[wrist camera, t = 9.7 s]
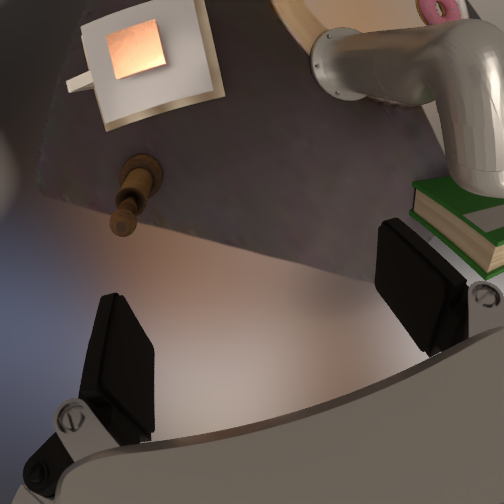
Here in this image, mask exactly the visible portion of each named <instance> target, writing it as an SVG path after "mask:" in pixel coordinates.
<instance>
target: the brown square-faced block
mask: <svg viewBox="0 0 504 504" xmlns="http://www.w3.org/2000/svg"><path fill="white" fill-rule="evenodd" d="M106 39H107V43H108V48H109V52H110V56H111V60H112V64H113V69H114V73H115V76H116V80H117V79H127V78H130V77H133V76H136V75H139V74H142V73H145V72H148V71H151V70H155V69H158V68H161V67H165V66H168V62H167V58H166V54H165V50H164V45H163V41H162V37H161V32H160V28H159V25H158V23H157V21H156V20H155V19H154V20H150V21H147V22H144V23H140V24H137V25H134V26H131V27H128V28H125V29H123V30H120V31H117V32H114V33H112V34H109V35H106Z"/></svg>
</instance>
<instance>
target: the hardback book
mask: <svg viewBox="0 0 504 504" xmlns="http://www.w3.org/2000/svg"><path fill="white" fill-rule="evenodd" d="M412 186H413V187H414V188H416V195H415V204H414V210H409V215H411V216H412V217H413V218H414V219H416V220H417V221H418V222H419V223H421V224H422V225H423V226H424V227H426V228H427V229H428V230H429V231H430V232H432V233H433V234H434V235H435V236H437V237H438V238H439V239H440V240H441V241H442V242H443V243H445V244H446V245H447V246H448V247H449V248H450V249H452V250H453V251H454V252H455V253H456V254H458V256H459V257H461V258H462V259H463V260H464V261H465V262H466V263H467V264H468V265H469V266H471V268H473V269H474V270H475V271H476V272H477V273H478V274H479V275H480V276H481V277H482V278H483V279H484V280H485V281H486V280H488V279H490V278H492V277H494V276H496V275H498V274H500V273H502V272H504V198H494V197H486V196H481V195H477V194H474V193H471V192H469V191H466V190H465V189H463V188H461V187H460V186H459V185H458V184H457V183H456V182H455V181H454V180H453V178H452V177H451V176H449V177H442V178H435V179H428V180H421V181H415V182H412Z"/></svg>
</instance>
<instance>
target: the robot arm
mask: <svg viewBox="0 0 504 504" xmlns="http://www.w3.org/2000/svg"><path fill="white" fill-rule="evenodd" d="M326 35H327V36H328V38H327V37H326ZM315 64H316V65H317V67H315ZM310 65H311V70H312V73H313V76H314V78H315V80H316V82H317V83H318V84H319V86H320V87H321V88H322V89H323V90H324V91H325V92H326V93H328V94H329V95H331V96H333V97H335V98H338V99H341V100H348V101H353V100H359V99H362V98H364V97H366V96H368V95H369V96H374V97H379V98H384V99H388V100H392V101H397V102H401V103H406V104H410V105H424V104H427V103H430V102H432V101H434V100H435V101H436V105H437V110H438V113H439V117H440V122H441V128H442V134H443V141H444V148H445V155H446V161H447V166H448V170H449V172H450V175H451V177H452V178H453V180H454V181H455V182H456V183H457V184H458V185H459V186H460V187H461V188H463V189H465V190H466V191H469V192H471V193H474V194H477V195H481V196H486V197H494V198H504V33H503V32H502V31H501V30H500V29H499V28H498V27H496V26H495V25H493V24H491V23H489V22H487V21H483V20H479V19H458V20H452V21H448V22H443V23H439V24H435V25H430V26H424V27H417V28H407V29H396V30H387V31H377V32H368V33H361V32H359V31H357V30H354V29H351V28H344V27H342V28H335V29H331V30H329V31H326V32H324V33H323V34H322V35H320V36H319V38H318V39H317V40H316V41H315V43H314V45H313V47H312V50H311V54H310ZM335 92H337V93H336V94H335ZM466 282H467V280H466V279H465V278H464V277H463V276H462V275H461V274H460V273H459V272H458V271H457V270H456V269H455V268H454V267H453V266H452V265H451V264H450V263H449V262H448V261H447V260H446V259H444V258H443V257H442V256H441V255H440V254H439V253H438V252H437V251H436V250H435V249H434V248H432V247H431V246H430V245H429V244H428V243H427V242H426V241H425V240H423V239H422V238H421V237H420V236H419V235H418V234H417V233H415V232H414V231H413V230H412V229H411V228H410V227H408V226H407V225H406V224H405V223H404V222H402V221H401V220H400V219H399V218H392V219H389V220H385V221H383V222H382V224H381V226H379V228H378V245H377V260H376V273H375V287H376V289H377V291H378V292H379V294H380V295H381V297H382V298H383V299H384V300H385V302H386V303H387V305H388V306H389V307H390V309H391V310H392V311H393V313H394V314H395V315H396V317H397V318H398V319H399V321H400V322H401V323H402V325H403V326H404V328H405V329H406V331H407V332H408V333H409V335H410V336H411V337H412V339H413V340H414V342H415V343H416V345H417V346H418V347H419V349H420V350H421V351H422V352H424V351H425V352H426V354H427V355H428V356H429V359H427V360H425V361H423V362H421V363H419V364H417V365H415V366H413V367H410V368H408V369H406V370H404V371H402V372H400V373H397V374H395V375H393V376H391V377H388V378H386V379H384V380H381V381H379V382H377V383H374V384H372V385H369V386H367V387H364V388H362V389H359V390H357V391H354V392H352V393H349V394H346V395H343V396H341V397H338V398H335V399H332V400H330V401H327V402H324V403H321V404H318V405H315V406H312V407H309V408H305V409H302V410H299V411H296V412H292V413H290V414H286V415H282V416H279V417H275V418H272V419H268V420H264V421H260V422H256V423H252V424H248V425H244V426H239V427H235V428H230V429H226V430H221V431H216V432H211V433H206V434H201V435H194V436H188V437H182V438H176V439H170V440H163V441H156V442H148V443H140V442H145V441H151V433H153V432H154V431H155V418H154V417H155V415H154V356H155V355H154V354H155V353H154V348H153V345H152V343H151V342H150V340H149V338H148V337H147V335H146V334H145V332H144V330H143V328H142V327H141V325H140V324H139V322H138V320H137V318H136V317H135V315H134V313H133V311H132V310H131V308H130V306H129V304H128V302H127V301H126V299H125V297H124V296H123V295H121V296H119V294H118V293H112V294H108V295H104V296H102V297H101V299H100V302H99V306H98V310H97V314H96V318H95V321H94V326H93V330H92V334H91V338H90V340H89V344H88V349H87V353H86V358H85V363H84V368H83V373H82V379H81V385H80V390H79V397H78V398H72V399H69V400H66V401H65V402H63V403H62V404H61V405H60V406H59V407H58V409H57V410H56V412H55V415H54V420H53V423H54V428H55V430H56V432H55V433H54V434H53V435H52V436H51V437H50V438H49V439H48V440H47V441H46V442H45V443H44V444H43V445H42V446H41V447H40V448H39V449H38V450H37V451H36V452H35V453H34V454H33V455H32V456H31V457H30V458H29V459H28V461H27V462H26V464H25V466H24V469H23V478H24V482H25V486H22V485H21V486H20V488H19V490H18V491H17V494H16V495H15V498H14V500H13V502H12V504H504V296H503V293H502V292H501V291H500V289H499V288H497V287H496V286H495V285H493V284H491V283H489V282H485V281H478V282H474V283H473V284H471V285H470V287H468V286H467V284H466ZM439 352H441V353H439ZM438 353H439V354H438ZM436 354H437V355H436ZM434 355H435V356H434ZM432 356H433V357H432ZM430 357H431V358H430Z"/></svg>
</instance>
